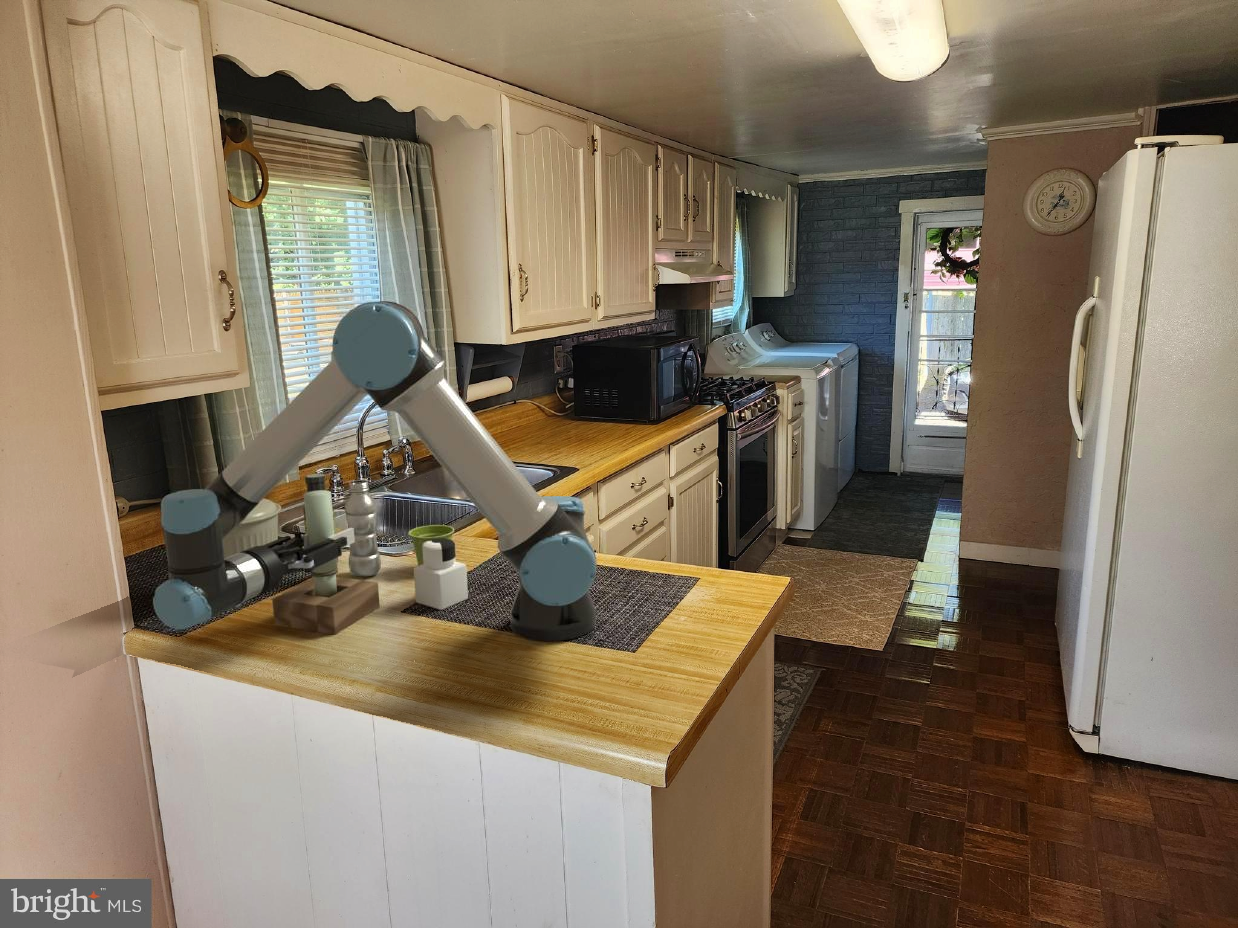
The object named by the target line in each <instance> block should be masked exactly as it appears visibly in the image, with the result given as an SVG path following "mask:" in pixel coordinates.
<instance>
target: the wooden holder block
mask: <svg viewBox="0 0 1238 928" xmlns="http://www.w3.org/2000/svg"><path fill="white" fill-rule="evenodd" d="M336 584H337V594H335V595H333V596H331V597H330V598H328V597H320V596H315V587H314V577H313V578H311V579H309V580H308V581H305V582H304V583H303V582H302V584H300V585H297V586H296V587H293V588H291V589H289V590H287V591H285V592H284V593H282V594H280V595H278V596H276V597H273V598H271V601H272V602H271V603H272V610H273V619H274V626H276V627H284V628H290V629H297V630H304V631H311V632H315V633H316V632H317V633H322V634H323V633H324V634H331V635H337V634H339V633H340V632H341V631H344V630H345V629H347V628H349V627H350V626H352V625H353V624H355V623H357V622H358V621H360V620H361V619H364V617H365V618H366V616H368V615H370V614H371V613H373V612H375V611H376V610H378V609H380V607H381V606H380V593H379V592H380V591H379V582H378V581H373V580H363V579H354V578H348V577H347V578H346V577H338V576H336Z"/></svg>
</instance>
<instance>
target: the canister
mask: <svg viewBox="0 0 1238 928" xmlns="http://www.w3.org/2000/svg"><path fill="white" fill-rule="evenodd" d="M281 511H282V505H280V504H279V503H276V502H273V501H272V500H270V499H268V498H267V499H266V498H263V499H262V500H261V501H260V502H259V503H258V505H257V506H256V507H255V508H254V509H253V510H252V511H251V512H250V513H249V514H248V516H247V517H246V518H245V519H244V520H243V521H242V522H241V523H240V524H239V525H237V526H236V527H235V528H233V529H232V530H231V531H230V533H228V534H227V535H226V536H225V537H224V538H223V539H222V543H223V552H224V558H227V557H229V556H231V555H234V554H236V553H240V552H242V551H245V550H247V549H250V548H252V547H255V546H263V545H265V544H267V543H270V542H272V541H275V540H277V539H279V536H278V535H279V514H280V513H281ZM265 593H266V592H264V593H262V594H265ZM262 594H260V595H257V596H261V595H262ZM257 596H255V597H257ZM255 597H254V598H255Z"/></svg>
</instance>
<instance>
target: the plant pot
mask: <svg viewBox="0 0 1238 928" xmlns="http://www.w3.org/2000/svg"><path fill="white" fill-rule="evenodd" d="M454 533H455V528H454V526H453V527H452V526H449V525H445V524H443V525H442V524H432V525H423V526H417V527H415V528H413V529H410V530H409V531H408V536H409V537H410V539H411V542H412V544H413V548H414V552H415V555H416V562H417V566H420V565H422V564H424V563H423V549H422V545H423V544H424V543H425V542H426V541H428V540H431V539H436V538H446V539H450V540H452V539H453V534H454Z"/></svg>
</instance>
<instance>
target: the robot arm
mask: <svg viewBox="0 0 1238 928" xmlns="http://www.w3.org/2000/svg"><path fill="white" fill-rule="evenodd" d="M330 357H331V360H330V362H329V363H328V364H327V365H326V366H325V367H324V368H322V370H321V371H320V372H319V373H318V374H317V375H316V376H315V377H314V378H313V379H312V380H310V382H309V383H308V384H307V385H306V386H305V387H304V388H303V389H302V390H301V391H300V393H299V394H297V395H296V396H295V397H294V398H293V399H292V400H291V401H290V403H288V405H287V406H285V407H284V408H283V409H282V411H280V413H278V415H277V416H276V417H275V418H273V420H272V421H271V422H270V423H269V424H268V425H267V426H266V427H265V428H264V429H263V430H262V431H261V432H260V433H259V434H258V435H257V436H256V437H255V438H254V439H253V440H252V441H251V442H250V443H249V444H248V445H247V446H246V447H245V448H244V449H243V450H242V451H241V452H240V453H239V454H238V455H237V456H236V457H235V458H234V459H233V460H232V461H231V462H230V463H229V464H228V465H227V467H225V468H224V470H222V471H221V472H220V474H218V475H217V476H215V478H214V479H213V480H212V481H211V483H209V485H207V486H206V488H204V489H203V488H200V489H198V488H197V489H195V488H193V489H186V490H185V489H183V490H178V491H176V492H172V493H169V494H167V495H165V496H164V497H163V498H162V500H161V502H160V507H161V508H160V510H161V514H160V515H161V518H160V522H161V523H160V524H161V526H162V530H163V537H164V545H165V552H166V558H167V564H168V565H167V567H168V572H167V573H168V578H169V579H168V580H167V579H166V581H164V582H163V583H162V584H160V585H159V586H158V587H156V589H155V591H154V596H153V598H152V604H153V609H154V612H155V614H156V616H157V617H158V619H159V620H160V622H162V623H163V624H164V625H165V626H167V627H169V628H172V629H174V630H186V629H189V628H191V627H193V626H196V625H199V624H202V623H203V624H204V623H205V622H208V621H210V619H211V618H213V617H215V616H218V615H220V614H221V613H224V612H225V611H228V610H230V609H231V608H235V607H240V606H241V605H242V604H243V603H245V602H247V601H249V600H251V599H253V598H255V596H256V597H257V595H258V596H261V595H262V593H263V594H265V593H267V592H269V591H271V590H273V589H274V588H276V587H277V586H278V585H279V584H280V583H281V581H282V579H283V577H284V576H285V575H289V574H291V573H292V572H295V571H296V570H299V569H303V570H304V573H306V574H307V573H310V572H312V571H313V570H314V569H315V568H317V567H319V566H321V565H323V564H325V563H327V562H329V561H331V560H333V559H335V558H337V557H338V558H339V557H341V556H342V555H343V554H342V549H343V548H345V547H348V546H350V544H352V543H354V542H355V538H354V528H348V527H347V529H344V530H342V531H339V532H338V533H337V532H336V534H335V535H333V536H330V537H328V538H327V539H328V540H326V541H323V542H320V543H317V544H314V545H310V546H308V537H307V534H302V532H301V531H295V532H294V536H293V537H292V536H290V535H285V536H283V537H280V538H278V539H277V540H275V541H272V542H270V543H267V544H265V545H263V546H255V547H252V548H250V549H247V550H245V551H242V552H240V553H236V554H234V555H231V556H229V557H227V558H224V552H223V543H222V539H223V538H224V537H225V536H226V535H227V534H228V533H230V531H231V530H232V529H233V528H235V527H236V526H237V525H239V524H240V523H241V522H242V521H243V520H244V519H245V518H246V517H247V516H248V514H249V513H250V512H251V511H252V510H253V509H254V508H255V507H256V506H257V505H258V503H259V502H260V501H261V500H262V499H265V497H267V496H268V495H269V494H270V493H271V492H272V491H273V489H275V488H276V486H278V485H279V483H280V482H282V481H283V480H284V478H286V477H287V476H288V474H290V472H292V471H293V470H294V468H296V467H297V466H298V464H300V463H301V461H302V460H304V458H306V457H307V456H308V455H309V453H311V451H313V449H314V448H316V447H317V446H318V444H319V443H321V441H323V439H324V438H325V437H327V436H328V434H330V432H332V431H333V430H334V428H336V427H337V426H338V425H339V424H340V423H341V421H342V420H344V419H345V418H346V416H347V415H349V414H350V413H351V412H352V410H354V409H355V408H356V406H358V405H359V403H361V401H363V400H364V398H365V397H366V396H369V397H370V398H371V399H372V400H373V402H375V404H376V405H377V406H378V407H379V409H380V410H381V411H385V412H387V411H388V412H394V413H397V414H398V415H399V416H400V417H401V419H402V420H403V421H404V423H406V425H407V426H408V427H409V428H410V429H411V431H412V432H413V433H414V435H415V436H416V437H417V438H418V440H420V441H421V443H423V445H424V446H425V447H426V449H427V450H428V451H429V452H430V454H431V455H432V456H433V457H434V458H435V459H436V461H437V462H438V463H439V464H440V466H441V467H442V468H443V470H444V471H446V473H447V474H448V475H449V476H450V478H452V480H453V481H454V482H455V483H456V485H457V486H458V488H460V490H461V491H462V492H463V493H464V494H465V496H466V497H467V498H468V499H469V501H471V503H472V504H473V505H474V506H475V508H476V509H477V510H478V511H479V512H480V513H481V514H482V516H483V518H485V519H486V521H487V522H488V523H489V524H490V526H491V527H492V528H493V529H494V530H495V531H496V533H497V534H498V535H497V536H498V538H497V550H498V551H499V552H500V553H501V554H502V556H503V557H504V558H505V559H506V560H507V561H508V562H509V564H510V565H511V566H512V568H513V569H514V570H515V571H516V572H517V574H518V587H517V590H516V593H515V598H514V600H513V603H512V608H511V610H510V615H509V616H510V621H509V622H510V629H511V630H512V632H513V633H514V634H516V635H517V636H519V637H521V638H524V639H527V640H531V641H532V640H533V641H539V642H557V641H566V640H571V639H576V638H579V637H582V636H584V635H587V634H588V633H590V632H591V631H593V630H594V628H595V627H596V625H597V610H596V607H595V605H594V601H593V599H592V596H591V593H590V589H591V587H592V585H593V584H594V581H595V578H596V576H597V575H596V574H597V560H596V559H597V557H596V554H595V551H594V549H593V547H592V546H591V543H590V540H589V538H588V536H587V534H586V531H585V517H584V516H585V514H586V512H585V510H584V502H583V501H582V499H580V498H579V497H574V496H566V495H565V496H564V495H562V496H561V495H559V496H558V495H557V496H556V495H552V496H551V495H550V496H540V494H539V493H538V492H537V491H536V489H535V488H534V487H533V486H532V484H530V482H529V481H528V480H527V479H526V477H525V476H524V474H523V473H522V472H521V471H520V470H519V469H518V467H517V466H516V465H515V464H514V462H513V461H512V460H511V459H510V457H509V456H508V455H507V453H505V451H504V450H503V449H502V447H501V446H500V445H499V443H498V442H497V441H496V440H495V438H494V437H493V436H492V435H491V434H490V432H489V431H488V429H486V428H485V426H484V425H483V424H482V423H481V421H480V420H479V419H478V417H477V416H476V415H475V414H474V413H473V411H472V410H471V408H470V407H469V406H468V405H467V404H466V402H465V401H464V400H463V399H462V398H461V396H460V395H459V393H457V392H456V390H455V389H454V388H453V387H452V385H451V383H449V381H448V380H447V379H446V377H445V374H444V373H445V362H446V361H445V360H444V359H443V358H442V356H441V355H440V354H439V353H438V352H437V350H436V349H435V347H434V346H433V345H432V344H431V342H430V341H429V340H428V338H427V337H426V336H425V332H424V329H423V326H422V324H421V322H420V320H419V318H418V317H417V316H416V314H414V312H413V311H411V310H410V309H409V308H407V307H406V306H404V305H403V304H400V303H397V302H393V301H390V300H389V301H385V300H382V301H368V302H365V303H361V304H358V305H357V306H355V307H354V308H352V309H350V310H349V311H348V312H347V313H346V314H345V315H344V316H342V317H341V320H340V321H339V322H338V324H337V326H336V328H335V330H334V333H333V337H332V350H331V352H330ZM310 574H311V573H310ZM264 592H265V593H264ZM260 594H261V595H260Z"/></svg>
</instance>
